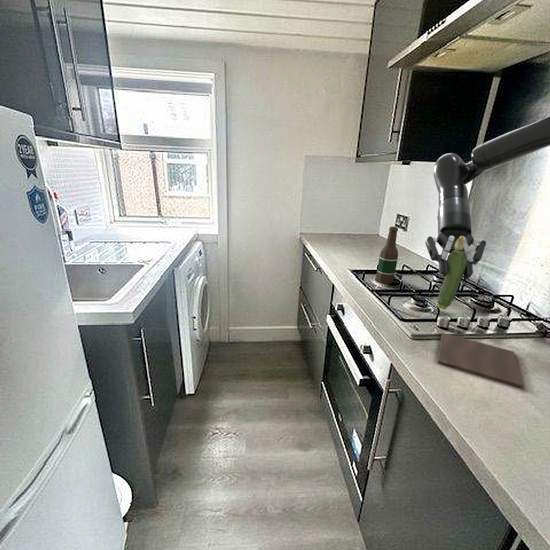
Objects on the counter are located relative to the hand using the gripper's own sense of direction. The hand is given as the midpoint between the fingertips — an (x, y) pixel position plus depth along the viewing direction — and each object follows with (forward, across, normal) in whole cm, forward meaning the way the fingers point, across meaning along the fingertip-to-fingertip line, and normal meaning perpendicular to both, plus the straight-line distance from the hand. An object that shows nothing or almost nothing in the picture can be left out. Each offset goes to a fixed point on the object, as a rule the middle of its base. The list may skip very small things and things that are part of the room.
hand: (455, 276), depth 74 cm
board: (+15, +11, +18) cm, 26 cm away
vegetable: (+6, 0, +9) cm, 10 cm away
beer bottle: (-21, -10, +54) cm, 59 cm away
